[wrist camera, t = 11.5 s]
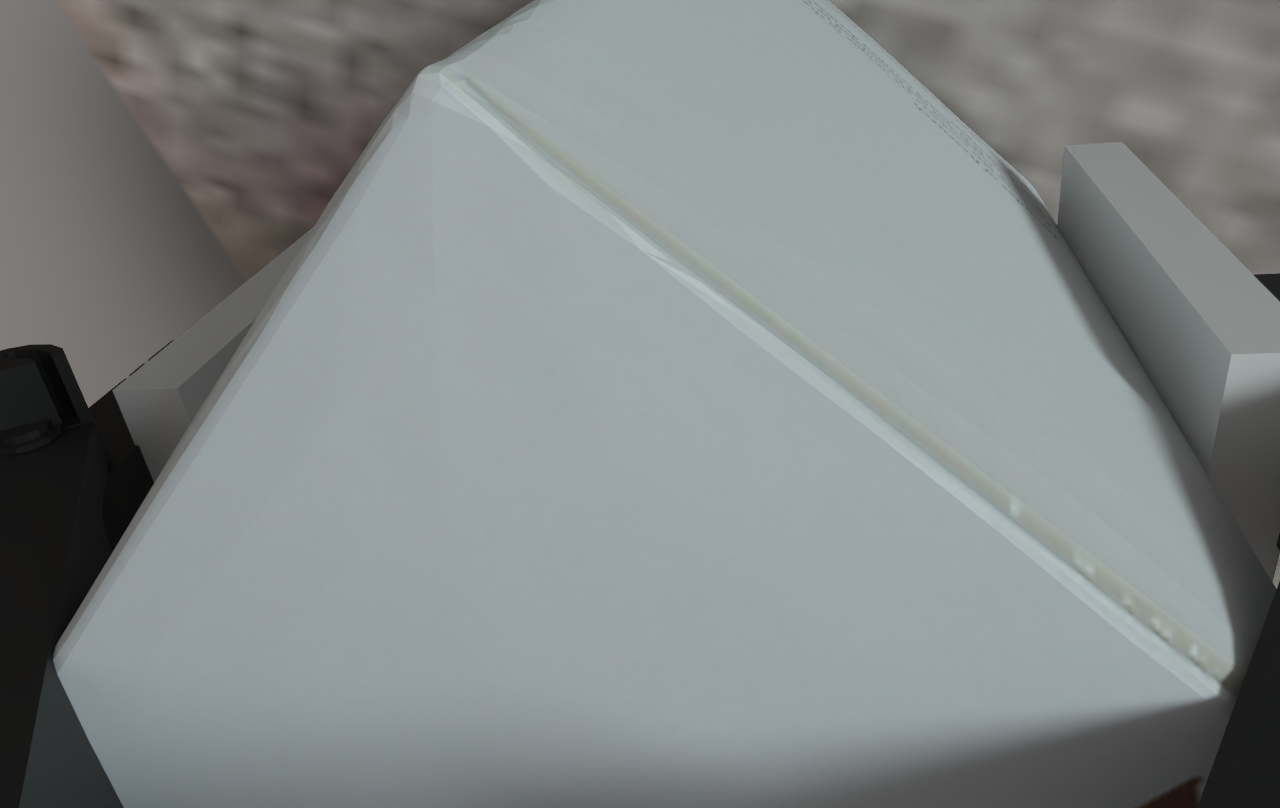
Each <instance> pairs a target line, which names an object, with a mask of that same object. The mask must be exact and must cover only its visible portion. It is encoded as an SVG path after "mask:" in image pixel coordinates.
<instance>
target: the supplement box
mask: <svg viewBox="0 0 1280 808" xmlns="http://www.w3.org/2000/svg"><path fill="white" fill-rule="evenodd" d="M1276 590H1277V589H1276V587H1275V586H1274V584H1273V583H1272V581H1271V579H1270V578H1269V576H1268V574H1267V573H1266V571H1265V569H1264V568H1263V566H1262V565H1261V563H1260V561H1259V560H1258V558H1257V556H1256V555H1255V553H1254V551H1253V550H1252V548H1251V546H1250V545H1249V543H1248V541H1247V540H1246V538H1245V536H1244V535H1243V533H1242V531H1241V530H1240V528H1239V526H1238V525H1237V523H1236V521H1235V520H1234V518H1233V516H1232V515H1231V513H1230V511H1229V510H1228V508H1227V507H1226V505H1225V503H1224V502H1223V500H1222V498H1221V497H1220V495H1219V493H1218V492H1217V490H1216V488H1215V487H1214V485H1213V483H1212V482H1211V480H1210V478H1209V477H1208V475H1207V474H1206V472H1205V470H1204V469H1203V467H1202V465H1201V464H1200V462H1199V460H1198V459H1197V457H1196V455H1195V454H1194V452H1193V450H1192V449H1191V447H1190V445H1189V444H1188V442H1187V440H1186V439H1185V437H1184V435H1183V434H1182V432H1181V430H1180V429H1179V427H1178V426H1177V424H1176V422H1175V421H1174V419H1173V417H1172V416H1171V414H1170V412H1169V411H1168V409H1167V407H1166V406H1165V404H1164V402H1163V401H1162V399H1161V397H1160V396H1159V394H1158V392H1157V391H1156V389H1155V387H1154V386H1153V384H1152V382H1151V381H1150V379H1149V377H1148V376H1147V374H1146V372H1145V371H1144V369H1143V367H1142V366H1141V364H1140V362H1139V361H1138V359H1137V357H1136V356H1135V354H1134V352H1133V351H1132V349H1131V347H1130V346H1129V344H1128V342H1127V341H1126V339H1125V338H1124V336H1123V334H1122V333H1121V331H1120V329H1119V328H1118V326H1117V324H1116V323H1115V321H1114V320H1113V318H1112V316H1111V315H1110V313H1109V311H1108V310H1107V308H1106V306H1105V305H1104V303H1103V301H1102V300H1101V298H1100V297H1099V295H1098V293H1097V292H1096V290H1095V288H1094V287H1093V285H1092V283H1091V282H1090V280H1089V278H1088V277H1087V275H1086V273H1085V272H1084V270H1083V268H1082V266H1081V265H1080V263H1079V261H1078V260H1077V258H1076V256H1075V255H1074V253H1073V251H1072V250H1071V248H1070V247H1069V245H1068V244H1067V242H1066V240H1065V238H1064V236H1063V235H1062V233H1061V231H1060V230H1059V228H1058V226H1057V225H1056V223H1055V221H1054V220H1053V218H1052V216H1051V215H1050V213H1049V211H1048V210H1047V208H1046V206H1045V204H1044V203H1043V201H1042V199H1041V198H1040V196H1039V195H1038V193H1037V191H1036V190H1035V188H1034V187H1033V186H1032V184H1031V183H1029V182H1028V181H1027V180H1026V179H1025V178H1024V177H1023V176H1022V175H1021V174H1020V173H1019V172H1017V171H1016V170H1015V169H1014V168H1013V167H1012V166H1011V165H1010V164H1009V163H1008V162H1006V161H1005V160H1004V159H1003V158H1002V157H1001V156H1000V155H999V154H998V153H996V152H995V151H994V150H993V149H992V148H991V147H990V146H989V145H988V144H987V143H985V142H984V141H983V140H982V139H981V138H980V137H979V136H978V135H977V134H975V133H974V132H973V131H972V130H971V129H970V128H969V127H968V126H967V125H966V124H964V123H963V122H962V121H961V120H960V119H959V118H958V117H957V116H956V115H955V114H954V113H953V112H951V111H950V110H949V109H948V108H947V107H946V106H945V105H944V104H943V103H942V102H941V101H940V100H939V99H937V98H936V97H935V96H934V95H933V94H932V93H931V92H930V91H929V90H928V89H927V88H926V87H925V86H923V85H922V84H921V83H920V82H919V81H918V80H917V79H916V78H915V77H914V76H913V75H912V74H911V73H909V72H908V71H907V70H906V69H905V68H904V67H903V66H902V65H901V64H900V63H899V62H898V61H897V60H895V59H894V58H893V57H892V56H891V55H890V54H889V53H888V52H887V51H886V50H884V49H883V48H882V47H881V46H880V45H879V44H878V43H877V42H875V41H874V40H873V39H872V38H871V37H870V36H869V35H868V34H866V33H865V32H864V31H863V30H862V29H861V28H860V27H858V26H857V25H856V24H855V23H854V22H853V21H852V20H851V19H849V18H848V17H847V16H846V15H845V14H844V13H843V12H842V11H840V10H839V9H838V8H837V7H836V6H835V5H834V4H833V3H831V2H830V1H829V0H534V1H532V2H531V3H529V4H527V5H526V6H524V7H522V8H521V9H519V10H518V11H516V12H515V13H513V14H512V15H510V16H509V17H507V18H506V19H504V20H503V21H502V22H500V23H498V24H497V25H495V26H494V27H492V28H490V29H489V30H487V31H486V32H484V33H482V34H481V35H479V36H478V37H476V38H475V39H473V40H472V41H471V42H469V43H468V44H466V45H465V46H463V47H462V48H460V49H459V50H457V51H456V52H454V53H453V54H451V55H450V56H448V57H446V58H444V59H442V60H441V61H439V62H437V63H434V64H431V65H428V66H427V67H425V68H424V69H422V70H421V71H419V72H418V74H417V75H416V77H415V78H414V79H413V81H412V82H411V83H410V85H409V86H408V88H407V89H406V90H405V92H404V93H403V94H402V96H401V97H400V99H399V100H398V101H397V103H396V104H395V105H394V107H393V108H392V110H391V111H390V112H389V114H388V115H387V116H386V118H385V119H384V121H383V122H382V124H381V125H380V127H379V128H378V130H377V131H376V133H375V134H374V136H373V137H372V139H371V140H370V142H369V143H368V145H367V146H366V148H365V149H364V151H363V152H362V154H361V155H360V157H359V158H358V160H357V161H356V163H355V164H354V166H353V167H352V169H351V170H350V172H349V173H348V175H347V176H346V178H345V179H344V181H343V182H342V184H341V185H340V187H339V188H338V190H337V191H336V193H335V194H334V196H333V197H332V199H331V200H330V202H329V203H328V205H327V206H326V208H325V210H324V211H323V213H322V214H321V216H320V218H319V219H318V221H317V223H316V224H315V226H314V227H313V229H312V231H311V232H310V234H309V236H308V237H307V239H306V240H305V242H304V243H303V245H302V247H301V248H300V250H299V251H298V253H297V254H296V256H295V257H294V259H293V260H292V262H291V263H290V265H289V267H288V268H287V270H286V271H285V273H284V274H283V276H282V278H281V279H280V281H279V283H278V284H277V286H276V287H275V289H274V291H273V292H272V294H271V295H270V297H269V299H268V300H267V302H266V304H265V305H264V307H263V308H262V310H261V312H260V313H259V315H258V316H257V318H256V320H255V321H254V323H253V325H252V326H251V328H250V329H249V331H248V333H247V334H246V336H245V337H244V339H243V341H242V342H241V344H240V345H239V347H238V349H237V350H236V352H235V353H234V355H233V357H232V358H231V360H230V361H229V363H228V365H227V366H226V368H225V369H224V371H223V373H222V374H221V376H220V377H219V379H218V381H217V382H216V384H215V385H214V387H213V389H212V390H211V392H210V393H209V395H208V397H207V398H206V400H205V401H204V403H203V404H202V406H201V408H200V409H199V411H198V412H197V414H196V416H195V417H194V419H193V420H192V422H191V424H190V425H189V427H188V428H187V430H186V432H185V433H184V435H183V436H182V438H181V440H180V441H179V443H178V445H177V446H176V448H175V450H174V451H173V453H172V455H171V456H170V458H169V459H168V461H167V463H166V464H165V466H164V468H163V469H162V471H161V473H160V474H159V476H158V478H157V479H156V481H155V483H154V484H153V486H152V488H151V489H150V491H149V493H148V494H147V496H146V498H145V499H144V501H143V503H142V504H141V506H140V508H139V509H138V511H137V513H136V514H135V516H134V518H133V519H132V521H131V523H130V524H129V526H128V527H127V529H126V531H125V532H124V534H123V536H122V537H121V539H120V541H119V542H118V544H117V546H116V547H115V549H114V551H113V552H112V554H111V556H110V557H109V559H108V561H107V562H106V564H105V566H104V567H103V569H102V571H101V572H100V574H99V576H98V577H97V579H96V581H95V582H94V584H93V586H92V587H91V589H90V590H89V592H88V594H87V595H86V597H85V599H84V600H83V602H82V604H81V605H80V607H79V608H78V610H77V612H76V613H75V615H74V617H73V618H72V620H71V622H70V623H69V625H68V626H67V628H66V630H65V631H64V633H63V635H62V636H61V638H60V639H59V641H58V643H57V644H56V646H55V649H54V653H53V662H54V665H55V668H56V672H57V675H58V677H59V679H60V681H61V683H62V685H63V688H64V690H65V692H66V694H67V696H68V698H69V700H70V702H71V704H72V706H73V708H74V710H75V713H76V715H77V717H78V719H79V721H80V723H81V725H82V727H83V729H84V731H85V734H86V736H87V738H88V740H89V742H90V744H91V746H92V748H93V750H94V751H95V753H96V755H97V757H98V759H99V761H100V763H101V765H102V767H103V769H104V771H105V772H106V774H107V776H108V778H109V780H110V782H111V784H112V786H113V788H114V790H115V792H116V794H117V796H118V798H119V799H120V801H121V803H122V805H123V807H124V808H1197V807H1198V804H1199V801H1200V799H1201V796H1202V793H1203V790H1204V788H1205V785H1206V782H1207V779H1208V777H1209V774H1210V771H1211V768H1212V766H1213V763H1214V760H1215V757H1216V755H1217V752H1218V749H1219V747H1220V744H1221V741H1222V738H1223V736H1224V733H1225V730H1226V727H1227V725H1228V722H1229V719H1230V716H1231V714H1232V711H1233V708H1234V705H1235V703H1236V700H1237V697H1238V694H1239V692H1240V689H1241V686H1242V683H1243V681H1244V678H1245V675H1246V672H1247V670H1248V667H1249V664H1250V662H1251V659H1252V656H1253V653H1254V651H1255V648H1256V645H1257V642H1258V640H1259V637H1260V634H1261V631H1262V629H1263V626H1264V623H1265V620H1266V618H1267V615H1268V612H1269V609H1270V607H1271V604H1272V601H1273V598H1274V596H1275V593H1276Z"/></svg>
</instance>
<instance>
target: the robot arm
mask: <svg viewBox="0 0 1280 808" xmlns="http://www.w3.org/2000/svg"><path fill="white" fill-rule="evenodd" d="M1057 226H1058V228H1059V230H1060V231H1061V233H1062V235H1063V236H1064V238H1065V240H1066V242H1067V244H1068V245H1069V247H1070V248H1071V250H1072V251H1073V253H1074V255H1075V256H1076V258H1077V260H1078V261H1079V263H1080V265H1081V266H1082V268H1083V270H1084V272H1085V273H1086V275H1087V277H1088V278H1089V280H1090V282H1091V283H1092V285H1093V287H1094V288H1095V290H1096V292H1097V293H1098V295H1099V297H1100V298H1101V300H1102V301H1103V303H1104V305H1105V306H1106V308H1107V310H1108V311H1109V313H1110V315H1111V316H1112V318H1113V320H1114V321H1115V323H1116V324H1117V326H1118V328H1119V329H1120V331H1121V333H1122V334H1123V336H1124V338H1125V339H1126V341H1127V342H1128V344H1129V346H1130V347H1131V349H1132V351H1133V352H1134V354H1135V356H1136V357H1137V359H1138V361H1139V362H1140V364H1141V366H1142V367H1143V369H1144V371H1145V372H1146V374H1147V376H1148V377H1149V379H1150V381H1151V382H1152V384H1153V386H1154V387H1155V389H1156V391H1157V392H1158V394H1159V396H1160V397H1161V399H1162V401H1163V402H1164V404H1165V406H1166V407H1167V409H1168V411H1169V412H1170V414H1171V416H1172V417H1173V419H1174V421H1175V422H1176V424H1177V426H1178V427H1179V429H1180V430H1181V432H1182V434H1183V435H1184V437H1185V439H1186V440H1187V442H1188V444H1189V445H1190V447H1191V449H1192V450H1193V452H1194V454H1195V455H1196V457H1197V459H1198V460H1199V462H1200V464H1201V465H1202V467H1203V469H1204V470H1205V472H1206V474H1207V475H1208V477H1209V478H1210V480H1211V482H1212V483H1213V485H1214V487H1215V488H1216V490H1217V492H1218V493H1219V495H1220V497H1221V498H1222V500H1223V502H1224V503H1225V505H1226V507H1227V508H1228V510H1229V511H1230V513H1231V515H1232V516H1233V518H1234V520H1235V521H1236V523H1237V525H1238V526H1239V528H1240V530H1241V531H1242V533H1243V535H1244V536H1245V538H1246V540H1247V541H1248V543H1249V545H1250V546H1251V548H1252V550H1253V551H1254V553H1255V555H1256V556H1257V558H1258V560H1259V561H1260V563H1261V565H1262V566H1263V568H1264V569H1265V571H1266V573H1267V574H1268V576H1269V578H1270V579H1271V581H1272V582H1273V578H1274V574H1275V570H1276V566H1277V562H1278V558H1279V553H1280V274H1260V275H1253V274H1252V273H1251V272H1250V271H1249V270H1248V269H1247V268H1246V267H1245V266H1244V265H1243V264H1242V263H1241V262H1240V261H1239V260H1238V259H1237V258H1236V257H1235V256H1234V255H1233V254H1232V253H1231V252H1230V251H1229V250H1228V249H1227V248H1226V247H1225V246H1224V245H1223V244H1222V243H1221V242H1220V241H1219V240H1218V239H1217V238H1216V237H1215V236H1214V235H1213V234H1212V233H1211V232H1210V231H1209V230H1208V229H1207V228H1206V227H1205V226H1204V225H1203V223H1202V222H1201V221H1200V220H1199V219H1198V218H1197V217H1196V216H1195V215H1194V214H1193V213H1192V212H1191V211H1190V210H1189V209H1188V208H1187V207H1186V206H1185V205H1184V204H1183V203H1182V202H1181V201H1180V200H1179V199H1178V198H1177V197H1176V196H1175V195H1174V194H1173V193H1172V192H1171V191H1170V190H1169V189H1168V188H1167V187H1166V186H1165V185H1164V184H1163V183H1162V182H1161V181H1160V180H1159V179H1158V178H1157V177H1156V176H1155V175H1154V174H1153V173H1152V172H1151V171H1150V170H1149V169H1148V168H1147V167H1146V166H1145V165H1144V164H1143V163H1142V162H1141V161H1140V160H1139V159H1138V158H1137V157H1136V156H1135V155H1134V154H1133V153H1132V152H1131V151H1130V150H1129V149H1128V148H1127V147H1126V146H1125V145H1124V144H1123V142H1112V143H1097V144H1083V145H1068V146H1065V148H1064V159H1063V170H1062V181H1061V192H1060V202H1059V213H1058V224H1057ZM312 229H313V228H311V229H310V230H309V231H308V232H307V233H305V234H304V235H303V236H302V237H300V238H299V239H298V240H297V241H296V242H294V243H293V244H292V245H291V246H289V247H288V248H287V249H286V250H284V251H283V252H282V253H281V254H280V255H278V256H277V257H276V258H275V259H273V260H272V261H271V262H270V263H268V264H267V265H266V266H265V267H264V268H262V269H261V270H260V271H259V272H257V273H256V274H255V275H254V276H252V277H251V278H250V279H249V280H248V281H246V282H245V283H244V284H243V285H241V286H240V287H239V288H238V289H237V290H235V291H234V292H233V293H232V294H231V295H229V296H228V297H227V298H225V299H224V300H223V301H222V302H221V303H219V304H218V305H217V306H216V307H214V308H213V309H212V310H211V311H210V312H208V313H207V314H206V315H205V316H203V317H202V318H201V319H200V320H198V321H197V322H196V323H195V324H194V325H192V326H191V327H190V328H189V329H187V330H186V331H185V332H184V333H182V334H181V335H180V336H179V337H178V338H176V339H175V340H173V341H171V342H170V343H168V344H167V345H166V346H165V347H163V348H162V349H161V350H160V351H158V352H157V353H156V354H155V355H154V356H152V357H151V358H150V359H149V360H148V362H147V363H146V364H142V365H141V366H140V367H139V368H137V369H136V370H135V371H134V372H133V373H131V374H130V377H128V378H127V379H124V380H123V381H121V383H119V384H118V385H117V386H115V387H114V388H113V389H112V390H110V391H109V392H108V393H107V394H106V395H104V396H103V397H102V398H101V399H99V400H98V401H97V402H96V403H94V404H93V405H92V406H91V407H89V408H88V406H87V404H86V402H85V399H84V397H83V395H82V393H81V390H80V388H79V386H78V384H77V381H76V379H75V376H74V374H73V372H72V369H71V367H70V365H69V363H68V360H67V358H66V355H65V353H64V351H63V349H62V348H60V347H57V346H54V345H27V346H21V347H16V348H9V349H6V350H2V351H0V808H124V807H123V805H122V803H121V801H120V799H119V798H118V796H117V794H116V792H115V790H114V788H113V786H112V784H111V782H110V780H109V778H108V776H107V774H106V772H105V771H104V769H103V767H102V765H101V763H100V761H99V759H98V757H97V755H96V753H95V751H94V750H93V748H92V746H91V744H90V742H89V740H88V738H87V736H86V734H85V731H84V729H83V727H82V725H81V723H80V721H79V719H78V717H77V715H76V713H75V710H74V708H73V706H72V704H71V702H70V700H69V698H68V696H67V694H66V692H65V690H64V688H63V685H62V683H61V681H60V679H59V677H58V675H57V672H56V668H55V665H54V662H53V653H54V649H55V646H56V644H57V643H58V641H59V639H60V638H61V636H62V635H63V633H64V631H65V630H66V628H67V626H68V625H69V623H70V622H71V620H72V618H73V617H74V615H75V613H76V612H77V610H78V608H79V607H80V605H81V604H82V602H83V600H84V599H85V597H86V595H87V594H88V592H89V590H90V589H91V587H92V586H93V584H94V582H95V581H96V579H97V577H98V576H99V574H100V572H101V571H102V569H103V567H104V566H105V564H106V562H107V561H108V559H109V557H110V556H111V554H112V552H113V551H114V549H115V547H116V546H117V544H118V542H119V541H120V539H121V537H122V536H123V534H124V532H125V531H126V529H127V527H128V526H129V524H130V523H131V521H132V519H133V518H134V516H135V514H136V513H137V511H138V509H139V508H140V506H141V504H142V503H143V501H144V499H145V498H146V496H147V494H148V493H149V491H150V489H151V488H152V486H153V484H154V483H155V481H156V479H157V478H158V476H159V474H160V473H161V471H162V469H163V468H164V466H165V464H166V463H167V461H168V459H169V458H170V456H171V455H172V453H173V451H174V450H175V448H176V446H177V445H178V443H179V441H180V440H181V438H182V436H183V435H184V433H185V432H186V430H187V428H188V427H189V425H190V424H191V422H192V420H193V419H194V417H195V416H196V414H197V412H198V411H199V409H200V408H201V406H202V404H203V403H204V401H205V400H206V398H207V397H208V395H209V393H210V392H211V390H212V389H213V387H214V385H215V384H216V382H217V381H218V379H219V377H220V376H221V374H222V373H223V371H224V369H225V368H226V366H227V365H228V363H229V361H230V360H231V358H232V357H233V355H234V353H235V352H236V350H237V349H238V347H239V345H240V344H241V342H242V341H243V339H244V337H245V336H246V334H247V333H248V331H249V329H250V328H251V326H252V325H253V323H254V321H255V320H256V318H257V316H258V315H259V313H260V312H261V310H262V308H263V307H264V305H265V304H266V302H267V300H268V299H269V297H270V295H271V294H272V292H273V291H274V289H275V287H276V286H277V284H278V283H279V281H280V279H281V278H282V276H283V274H284V273H285V271H286V270H287V268H288V267H289V265H290V263H291V262H292V260H293V259H294V257H295V256H296V254H297V253H298V251H299V250H300V248H301V247H302V245H303V243H304V242H305V240H306V239H307V237H308V236H309V234H310V232H311V231H312ZM1197 808H1280V582H1279V585H1278V587H1277V590H1276V593H1275V596H1274V598H1273V601H1272V604H1271V607H1270V609H1269V612H1268V615H1267V618H1266V620H1265V623H1264V626H1263V629H1262V631H1261V634H1260V637H1259V640H1258V642H1257V645H1256V648H1255V651H1254V653H1253V656H1252V659H1251V662H1250V664H1249V667H1248V670H1247V672H1246V675H1245V678H1244V681H1243V683H1242V686H1241V689H1240V692H1239V694H1238V697H1237V700H1236V703H1235V705H1234V708H1233V711H1232V714H1231V716H1230V719H1229V722H1228V725H1227V727H1226V730H1225V733H1224V736H1223V738H1222V741H1221V744H1220V747H1219V749H1218V752H1217V755H1216V757H1215V760H1214V763H1213V766H1212V768H1211V771H1210V774H1209V777H1208V779H1207V782H1206V785H1205V788H1204V790H1203V793H1202V796H1201V799H1200V801H1199V804H1198V807H1197Z"/></svg>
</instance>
